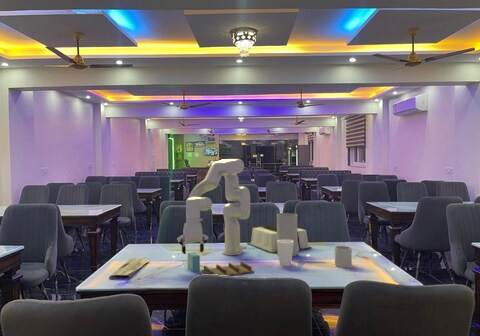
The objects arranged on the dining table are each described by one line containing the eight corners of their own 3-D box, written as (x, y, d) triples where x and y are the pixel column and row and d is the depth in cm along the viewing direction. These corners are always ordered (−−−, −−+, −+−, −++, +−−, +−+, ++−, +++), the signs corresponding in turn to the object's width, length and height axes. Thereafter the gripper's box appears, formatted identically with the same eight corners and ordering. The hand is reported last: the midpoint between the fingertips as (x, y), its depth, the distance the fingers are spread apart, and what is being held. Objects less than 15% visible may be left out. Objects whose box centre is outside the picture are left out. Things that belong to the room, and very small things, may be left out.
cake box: (246, 244, 266) (246, 226, 266) (285, 240, 280) (285, 223, 280) (271, 254, 234) (271, 234, 234) (314, 249, 248) (314, 230, 248)
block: (194, 266, 206) (194, 252, 206) (199, 270, 198) (199, 255, 198) (187, 267, 205) (187, 252, 205) (192, 271, 197) (192, 256, 196)
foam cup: (295, 262, 212) (295, 240, 212) (292, 267, 203) (291, 243, 203) (278, 261, 215) (278, 239, 215) (275, 265, 206) (274, 242, 206)
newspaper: (129, 262, 219) (129, 256, 219) (150, 262, 219) (150, 256, 219) (108, 280, 184) (107, 273, 184) (133, 280, 184) (133, 273, 184)
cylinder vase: (274, 256, 228) (274, 215, 228) (280, 251, 240) (280, 212, 240) (294, 257, 223) (294, 216, 223) (299, 253, 235) (299, 213, 235)
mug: (342, 268, 199) (342, 249, 199) (330, 264, 207) (330, 246, 207) (357, 265, 204) (357, 247, 204) (345, 262, 212) (345, 244, 212)
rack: (242, 266, 206) (242, 260, 206) (254, 272, 193) (254, 266, 193) (201, 271, 196) (201, 265, 196) (210, 278, 183) (210, 272, 183)
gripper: (205, 219, 208) (205, 250, 208) (175, 220, 201) (175, 252, 201) (210, 220, 201) (210, 252, 201) (179, 222, 194) (179, 255, 194)
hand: (192, 252), depth 201 cm, fingers open, 9 cm apart
